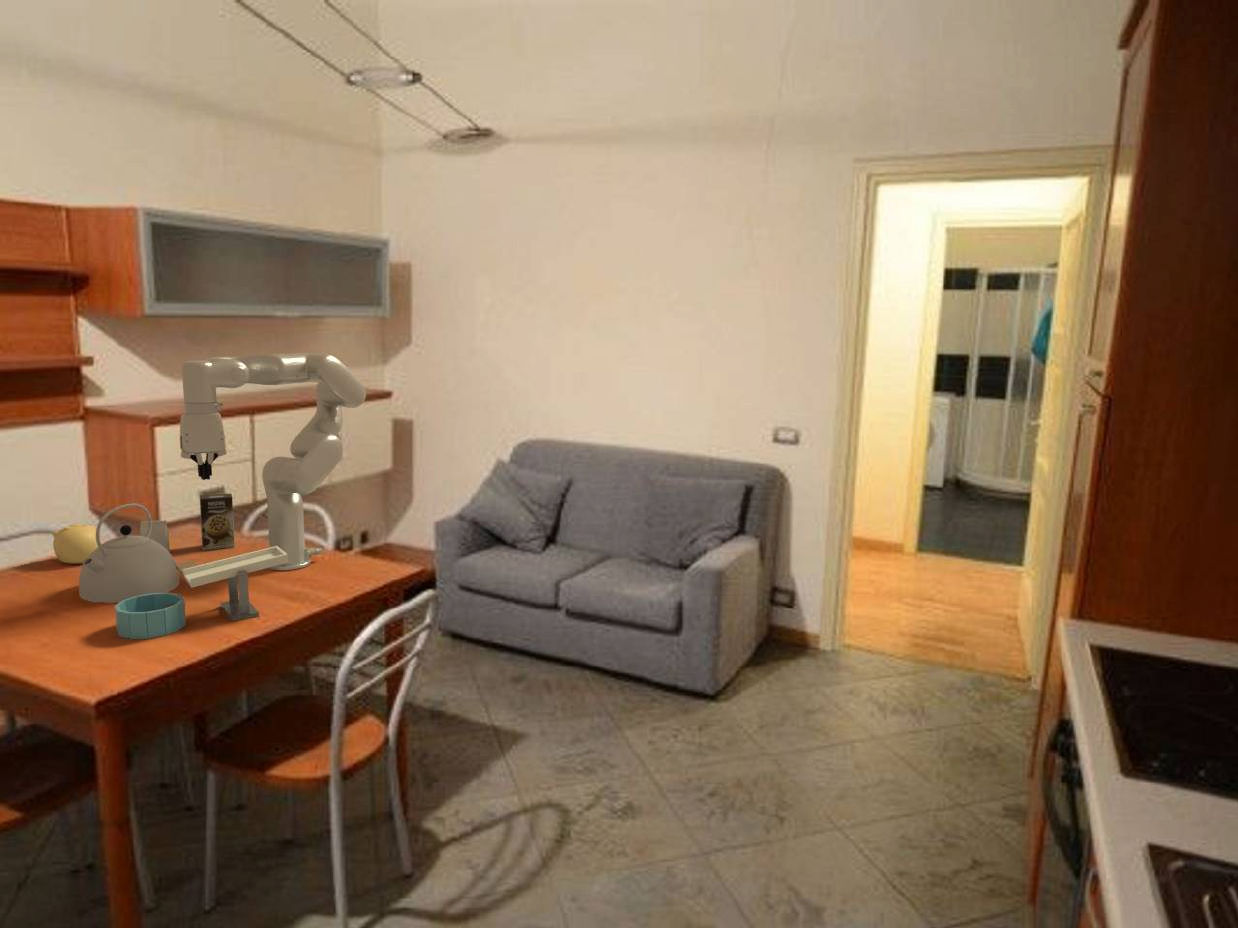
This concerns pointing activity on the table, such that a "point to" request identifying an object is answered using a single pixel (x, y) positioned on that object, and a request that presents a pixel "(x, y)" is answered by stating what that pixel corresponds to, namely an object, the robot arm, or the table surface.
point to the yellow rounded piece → (75, 543)
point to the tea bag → (156, 532)
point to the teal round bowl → (150, 615)
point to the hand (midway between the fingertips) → (205, 478)
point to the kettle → (127, 566)
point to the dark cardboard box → (217, 521)
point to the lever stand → (241, 606)
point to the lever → (231, 566)
